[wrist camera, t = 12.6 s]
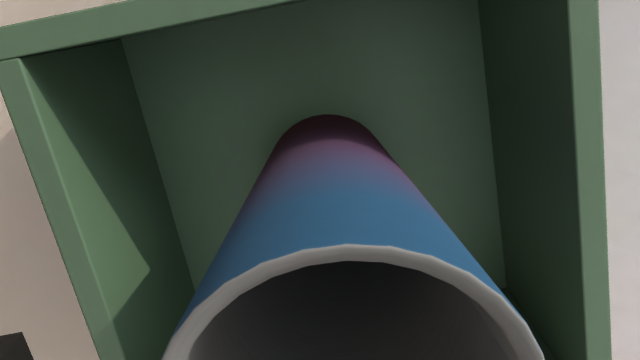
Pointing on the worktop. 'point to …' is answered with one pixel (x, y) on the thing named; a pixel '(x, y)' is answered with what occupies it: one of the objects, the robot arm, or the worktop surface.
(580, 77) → the bin
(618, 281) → the worktop surface
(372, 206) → the cup
